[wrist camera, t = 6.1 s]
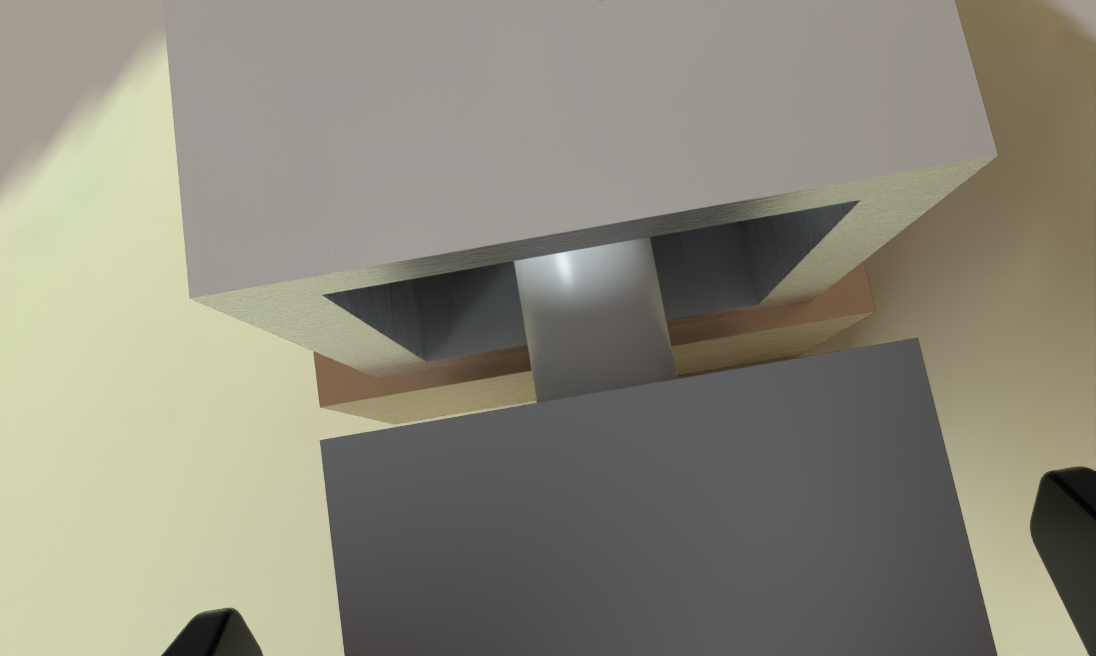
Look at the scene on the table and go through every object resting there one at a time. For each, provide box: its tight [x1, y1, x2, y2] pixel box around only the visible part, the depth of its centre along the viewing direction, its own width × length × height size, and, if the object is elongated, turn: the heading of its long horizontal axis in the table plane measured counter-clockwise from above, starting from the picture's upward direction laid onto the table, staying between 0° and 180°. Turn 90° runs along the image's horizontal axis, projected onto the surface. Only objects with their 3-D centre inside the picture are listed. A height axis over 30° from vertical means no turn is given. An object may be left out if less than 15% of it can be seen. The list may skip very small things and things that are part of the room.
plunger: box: [320, 237, 997, 656], centre depth 11 cm, size 8×5×7 cm, turn 10°
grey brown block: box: [163, 0, 998, 424], centre depth 12 cm, size 6×8×10 cm
